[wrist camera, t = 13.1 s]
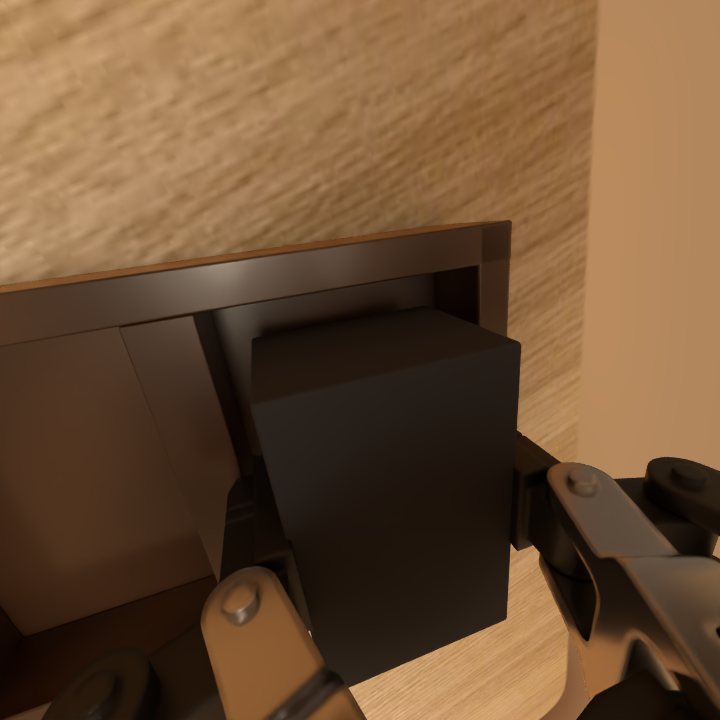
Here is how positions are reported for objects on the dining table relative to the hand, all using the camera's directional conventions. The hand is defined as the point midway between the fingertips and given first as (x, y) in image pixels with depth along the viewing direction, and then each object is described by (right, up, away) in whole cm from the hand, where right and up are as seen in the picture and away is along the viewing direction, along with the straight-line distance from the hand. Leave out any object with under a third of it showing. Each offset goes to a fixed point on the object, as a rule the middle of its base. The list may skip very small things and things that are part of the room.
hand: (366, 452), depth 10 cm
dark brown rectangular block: (0, 0, +1) cm, 1 cm away
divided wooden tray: (-5, 0, +2) cm, 5 cm away
